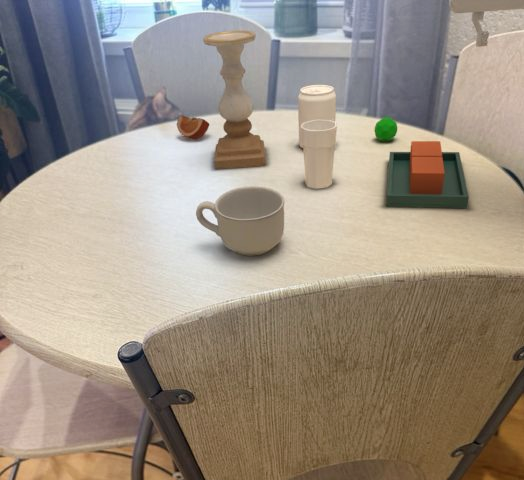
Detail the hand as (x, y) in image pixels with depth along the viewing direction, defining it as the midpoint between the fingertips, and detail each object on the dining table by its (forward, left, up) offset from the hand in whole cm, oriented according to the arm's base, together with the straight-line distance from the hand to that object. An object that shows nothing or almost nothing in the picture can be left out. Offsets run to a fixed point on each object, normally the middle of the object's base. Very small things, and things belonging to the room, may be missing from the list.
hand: (514, 44), depth 80 cm
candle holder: (+49, -18, -24) cm, 58 cm away
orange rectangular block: (+10, -12, -24) cm, 28 cm away
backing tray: (+10, -6, -24) cm, 27 cm away
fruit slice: (+64, -32, -24) cm, 76 cm away
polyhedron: (+18, -30, -24) cm, 43 cm away
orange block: (+10, -3, -24) cm, 26 cm away
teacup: (+39, +21, -24) cm, 51 cm away
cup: (+30, -5, -24) cm, 39 cm away
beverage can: (+33, -26, -24) cm, 48 cm away
